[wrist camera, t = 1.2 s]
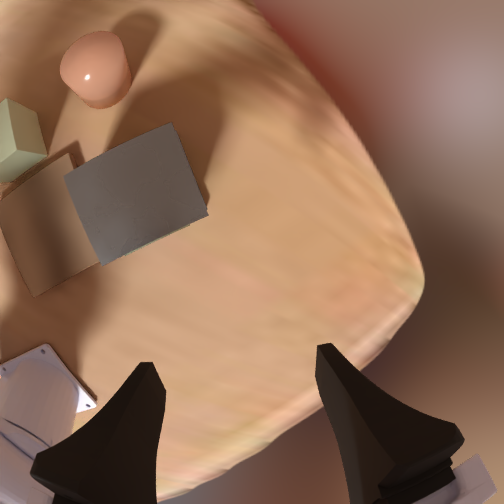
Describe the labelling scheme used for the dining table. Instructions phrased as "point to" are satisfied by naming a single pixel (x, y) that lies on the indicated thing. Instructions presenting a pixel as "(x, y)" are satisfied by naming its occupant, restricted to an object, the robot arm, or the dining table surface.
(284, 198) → the dining table surface
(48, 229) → the pad
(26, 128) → the sage block
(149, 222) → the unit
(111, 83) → the terracotta cylinder
